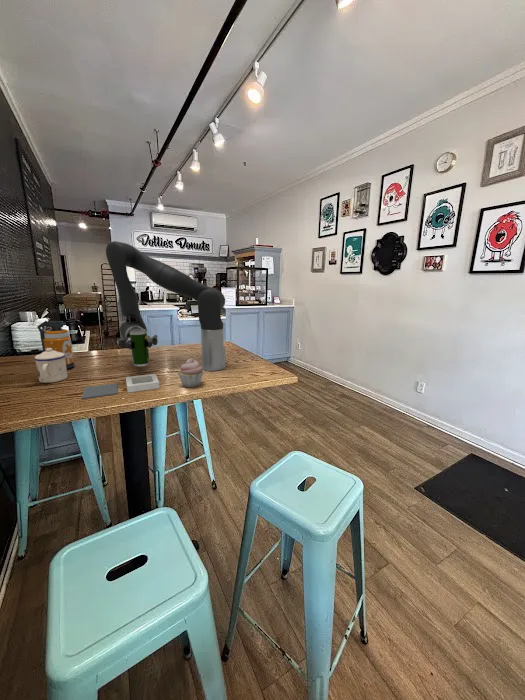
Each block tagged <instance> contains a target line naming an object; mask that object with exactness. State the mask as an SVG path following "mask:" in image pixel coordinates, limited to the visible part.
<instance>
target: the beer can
mask: <svg viewBox="0 0 525 700" xmlns="http://www.w3.org/2000/svg"><path fill="white" fill-rule="evenodd" d="M147 335H148V331H147V332H146V330H145V329H135V330H130V341H131V347H132V349H131V350H130V351H131V358H132V365H133V366H134V367H145V366H148V365H149V364H150V354H149V352H150V351H149V347H148V340H147Z"/></svg>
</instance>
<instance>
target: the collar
mask: <svg viewBox="0 0 525 700" xmlns="http://www.w3.org/2000/svg"><path fill="white" fill-rule="evenodd" d="M125 380H126V382H125V383H126V389H127V393H135V392H142V391H150V390H155V389H156V390H157V389H160V381H159V379H158V377H157V374H156V373H151V374H144V375H143V374H142V375H132V376H126V377H125Z"/></svg>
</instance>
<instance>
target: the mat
mask: <svg viewBox="0 0 525 700" xmlns="http://www.w3.org/2000/svg"><path fill="white" fill-rule="evenodd" d="M115 395H118V382H116V383H109V384H108V383H107V384H100V385H92V386H86V387H84V388H83V391H82V395H81V400H86V399H94V398H101V397H108V396H115Z"/></svg>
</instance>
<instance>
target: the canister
mask: <svg viewBox="0 0 525 700" xmlns="http://www.w3.org/2000/svg"><path fill="white" fill-rule="evenodd" d="M66 325H67V322H65V321H63V320H58V321H57V320H51V319H49V320H45V321H43V322H42V323H40V324H38V325H37V326H36V327H37V329H38V331H39V336H40V341H41V346H42V352H45V351H46V349H47V348H52V350H53V351H57V352H62V353H64V354H65V362H66V369H67V370H69V369H71V368H73V367H74V366H75V360H74V359H75V358H74V352H73V346H72V345H73V344H72V338H71V336H70V335H69V331H68V330H67V329H66V328H65V329H64V326H66Z"/></svg>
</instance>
